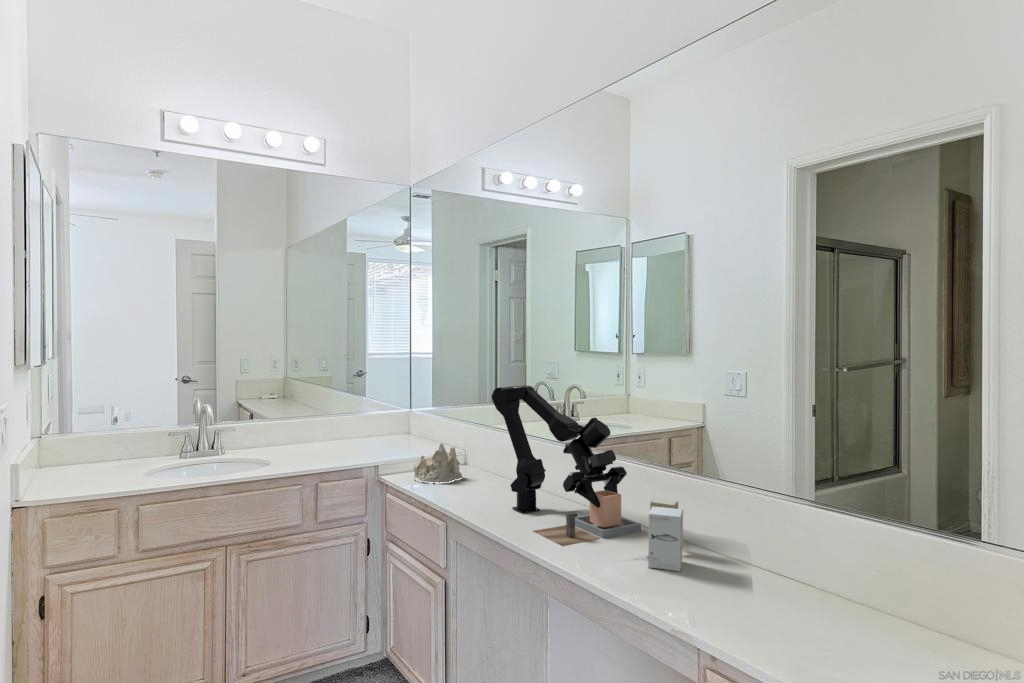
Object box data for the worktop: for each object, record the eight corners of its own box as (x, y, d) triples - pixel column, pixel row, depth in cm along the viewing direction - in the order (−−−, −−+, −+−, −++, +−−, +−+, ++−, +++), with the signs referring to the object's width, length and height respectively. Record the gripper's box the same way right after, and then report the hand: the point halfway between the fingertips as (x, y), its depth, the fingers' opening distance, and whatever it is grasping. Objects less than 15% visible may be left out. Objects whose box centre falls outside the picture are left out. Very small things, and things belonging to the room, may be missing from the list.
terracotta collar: (586, 520, 169) (586, 491, 169) (603, 517, 172) (603, 488, 172) (603, 527, 163) (603, 497, 163) (621, 524, 166) (621, 494, 166)
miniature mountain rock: (468, 478, 233) (465, 439, 233) (435, 487, 221) (432, 446, 221) (441, 475, 243) (438, 437, 244) (408, 484, 231) (405, 444, 232)
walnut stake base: (532, 536, 164) (532, 508, 164) (569, 529, 170) (569, 502, 170) (562, 552, 151) (562, 521, 152) (601, 544, 157) (601, 515, 157)
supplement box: (647, 568, 141) (647, 513, 141) (651, 557, 148) (651, 505, 148) (680, 572, 138) (680, 516, 138) (683, 561, 145) (683, 508, 145)
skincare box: (648, 550, 153) (648, 501, 153) (653, 545, 157) (653, 497, 157) (674, 554, 150) (674, 504, 150) (678, 549, 154) (678, 500, 154)
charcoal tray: (570, 529, 170) (570, 517, 170) (608, 522, 176) (608, 511, 176) (602, 544, 158) (602, 531, 158) (641, 536, 164) (641, 523, 164)
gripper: (569, 443, 166) (594, 492, 156) (622, 438, 175) (649, 484, 166) (552, 467, 173) (575, 516, 163) (605, 461, 182) (629, 507, 172)
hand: (608, 505), depth 166 cm, fingers closed on terracotta collar, 6 cm apart
